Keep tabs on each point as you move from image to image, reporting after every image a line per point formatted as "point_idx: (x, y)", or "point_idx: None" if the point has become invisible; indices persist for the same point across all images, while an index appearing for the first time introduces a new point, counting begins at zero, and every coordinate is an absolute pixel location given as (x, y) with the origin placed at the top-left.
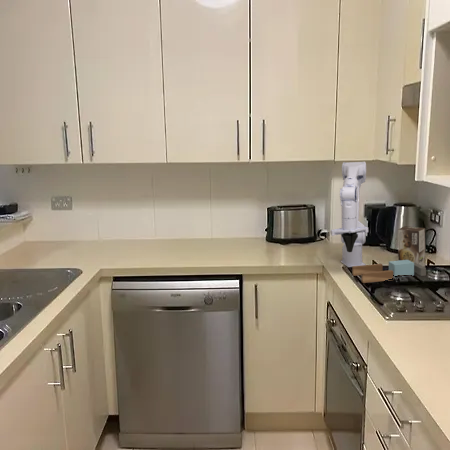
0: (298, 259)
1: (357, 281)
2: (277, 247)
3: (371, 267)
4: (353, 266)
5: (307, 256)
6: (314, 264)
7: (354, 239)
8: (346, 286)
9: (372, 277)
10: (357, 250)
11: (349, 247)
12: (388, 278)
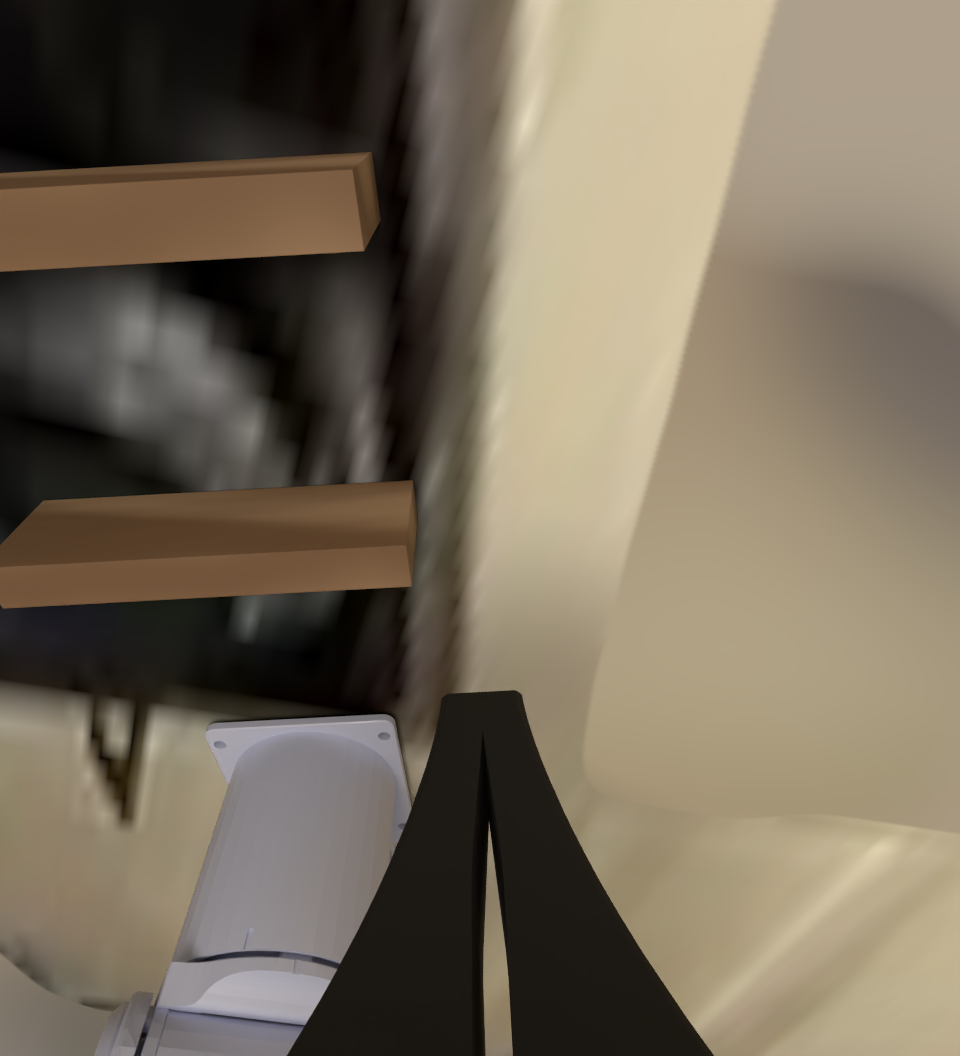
0: (704, 903)
1: (433, 254)
2: None
3: (152, 543)
4: (396, 581)
5: None
6: (648, 814)
7: (369, 1045)
8: (685, 37)
9: (192, 171)
10: (250, 890)
11: (524, 781)
12: None
